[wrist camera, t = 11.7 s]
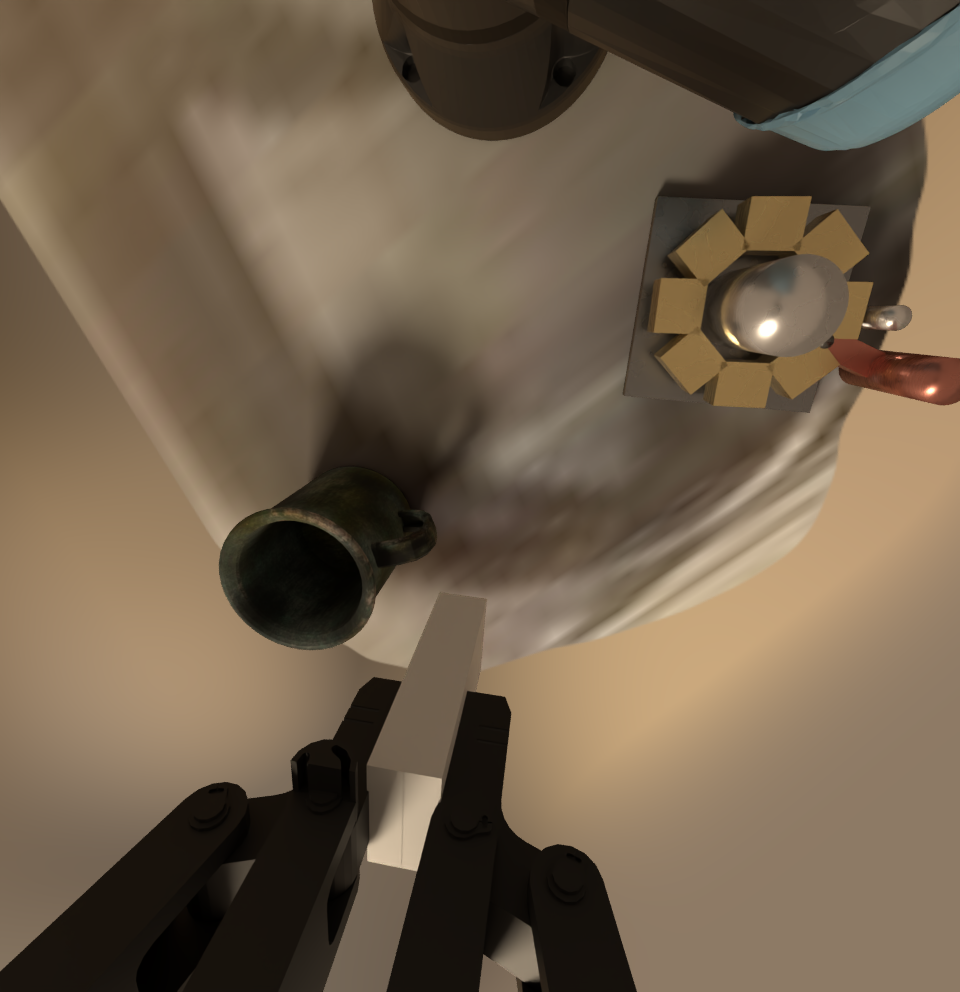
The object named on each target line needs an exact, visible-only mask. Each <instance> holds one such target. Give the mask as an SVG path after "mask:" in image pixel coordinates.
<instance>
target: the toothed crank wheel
mask: <svg viewBox="0 0 960 992" xmlns="http://www.w3.org/2000/svg"><path fill="white" fill-rule="evenodd" d="M811 198H812V196H752V197H750V198H748V199H747V200H745V201H744V202H742V203H740V204H739V205H737V211H736V217H735V222H734V223H733V222H732V221H731V219H730V218H729V217H728V215H727V214H726V213H725V211H724V210H723V209H721V210H719V211H718V212H716V213H715V214H713V215H712V216H710V217H709V218H708V219H707V220H706V221H705V222H704V223H702V224H701V225H700V226H699V227H698V228H697V229H696V230H695V231H694V232H693V233H692V234H690V235H689V236H688V237H687V238H686V239H685V240H684V241H683V242H682V243H681V244H680V245H678V246H677V247H676V248H675V249H674V250H673V251H672V252H671V253H670V254H669V255H667V256H668V257H669V258H670V260H671V261H672V262H673V264H674V265H675V266H676V267H677V269H678V270H679V271H680V272H681V274H682V275H683V276H684V277H685V279H684V278H660V279H657V280H655V281H654V284H653V292H652V299H651V307H650V314H649V321H648V329H647V332H652V333H677V335H676V336H675V337H674V338H673V339H672V340H670V341H669V342H668V343H667V344H666V345H664V346H663V347H662V348H661V349H660V350H659V351H657V352H656V353H655V354H654V356H655V357H656V359H657V360H658V361H659V362H660V363H661V365H662V366H663V367H664V368H665V370H666V371H667V372H668V373H669V374H670V376H671V377H672V378H673V379H674V380H675V382H676V383H677V384H678V385H679V386H680V388H681V389H682V390H684V391H685V392H687V393H689V394H690V395H691V394H692V393H694V392H695V391H696V390H698V389H699V388H700V387H701V386H703V385H704V384H705V383H706V385H705V391H704V397H703V400H705V401H706V402H708V403H710V404H711V405H713V406H733V407H753V408H765V406H766V401H767V397H768V392H769V388H770V386H771V388H772V389H773V390H774V391H775V393H776V394H778V395H781V396H784V397H787V398H789V399H794V398H795V397H796V396H798V395H799V394H801V393H802V392H803V391H805V390H806V389H807V388H809V387H810V386H811V385H813V384H814V383H816V382H817V381H818V380H820V379H821V378H822V377H824V376H825V375H827V374H828V373H829V372H831V371H832V370H833V369H835V368H836V367H837V366H838V367H839V375H840V377H841V379H842V380H843V381H844V382H846V383H848V384H851V385H855V386H860V387H864V388H868V389H873V390H877V391H881V392H886V393H890V394H894V395H898V396H903V397H907V398H911V399H915V400H920V401H924V402H928V403H932V404H937V405H949V404H953V403H956V402H958V401H960V359H959V358H949V357H940V356H931V355H921V354H911V353H902V352H893V351H883V350H877V349H875V348H873V347H871V346H869V345H867V344H865V343H863V342H861V341H859V340H857V339H858V337H859V334H860V330H861V326H862V323H863V319H864V315H865V312H866V308H867V304H868V301H869V297H870V293H871V289H872V286H873V282H847V284H848V290H849V301H848V307H847V311H846V314H845V316H844V319H843V321H842V323H841V324H840V326H839V327H838V329H837V330H836V332H835V333H834V334H833V335H832V336H831V337H830V338H829V339H828V340H827V341H826V342H825V343H823V344H822V345H821V346H819V347H818V348H816V349H814V350H812V351H810V352H808V353H805V354H802V355H799V356H793V357H778V356H772V355H767V354H763V355H762V356H760V357H759V358H758V359H756V360H739V359H723V357H722V356H721V355H720V354H719V352H718V351H717V350H716V349H715V347H714V346H713V345H712V344H711V342H710V341H709V340H708V339H707V337H706V336H705V335H704V334H703V332H702V331H701V330H700V329H701V323H702V317H703V311H704V305H705V299H706V293H707V287H708V284H709V283H710V282H711V281H712V280H713V279H714V278H715V277H717V276H718V275H719V274H720V273H721V272H722V271H724V270H725V269H726V268H727V267H728V266H729V265H731V264H732V263H733V262H734V261H735V260H736V259H737V258H739V257H740V256H741V255H767V256H778V257H779V259H782V258H786V257H790V256H794V255H799V254H813V255H818V256H822V257H824V258H827V259H829V260H830V261H832V262H833V263H834V264H835V265H837V266H838V267H839V269H840V270H841V271H842V273H843V274H844V273H845V272H847V271H848V270H849V269H850V268H852V267H853V266H854V265H855V264H857V263H858V262H859V261H861V260H862V259H863V258H864V257H866V256H867V255H868V254H869V252H868V251H867V249H866V248H865V247H864V245H863V244H862V242H861V241H860V240H859V238H858V237H857V235H856V234H855V233H854V231H853V230H852V228H851V227H850V226H849V224H848V223H847V221H846V220H845V219H844V217H843V216H842V214H841V213H840V211H839V210H838V209H836V210H833V211H831V212H828V213H825V214H823V215H820V216H818V217H816V218H815V219H813V220H812V221H811V222H810V223H809V224H808V225H806V220H807V216H808V211H809V207H810V202H811ZM805 225H806V226H805Z"/></svg>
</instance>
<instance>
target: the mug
mask: <svg viewBox="0 0 960 992" xmlns="http://www.w3.org/2000/svg"><path fill="white" fill-rule="evenodd" d="M413 532H414V533H413ZM436 540H437V532H436V527H435V524H434V522H433V520H432V517H431V515H430V514H429V513H427V512H425V511H422V510H411V509H410V507H409V504H408V502H407V500H406V498H405V497H404V495H403V494H402V492H401V491H400V490H399V489H398V487H397V486H395V485H394V484H393V483H392V482H391V481H390V480H388V479H387V478H386V477H384V476H383V475H381V474H379V473H377V472H375V471H372V470H369V469H366V468H360V467H340V468H336V469H332V470H329V471H327V472H325V473H323V474H322V475H320V476H319V477H317V478H316V479H314V480H313V481H311V482H310V483H308V484H307V485H305V486H304V487H302V488H301V489H299V490H298V491H296V492H295V493H293V494H292V495H290V496H289V497H288V498H286V499H285V500H283V501H282V502H280V503H279V504H277V505H276V506H274V507H273V508H271V509H266V510H262V511H259V512H256V513H254V514H252V515H250V516H248V517H246V518H245V519H243V520H242V521H241V522H239V523H238V524H237V525H236V526H235V527H234V528H233V529H232V531H231V532H230V533H229V535H228V537H227V538H226V540H225V542H224V544H223V547H222V550H221V553H220V560H219V575H220V579H221V584H222V587H223V590H224V592H225V595H226V597H227V599H228V601H229V603H230V604H231V606H232V607H233V609H234V610H235V612H236V613H237V614H238V615H239V617H241V618H242V620H243V621H244V622H245V623H246V624H247V625H249V626H250V627H251V628H252V629H253V630H255V631H256V632H257V633H259V634H260V635H262V636H264V637H265V638H267V639H269V640H271V641H274V642H275V643H278V644H281V645H284V646H287V647H291V648H296V649H303V650H321V649H326V648H331V647H334V646H337V645H340V644H342V643H344V642H346V641H347V640H349V639H351V638H352V637H354V636H355V635H356V634H357V633H358V632H359V631H361V630H362V628H363V627H364V626H365V624H366V623H367V622H368V620H369V618H370V616H371V614H372V611H373V608H374V604H375V598H376V596H377V595H378V593H379V591H380V590H381V588H382V587H383V585H384V584H385V582H386V581H387V579H388V578H389V576H390V574H391V573H392V571H393V570H394V568H395V567H396V565H401V564H405V563H409V562H413V561H416V560H418V559H420V558H422V557H423V556H425V555H427V554H428V553H429V552H430V551H431V549H432V548H433V547H434V546H435V544H436Z"/></svg>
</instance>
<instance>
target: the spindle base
mask: <svg viewBox="0 0 960 992" xmlns="http://www.w3.org/2000/svg"><path fill="white" fill-rule="evenodd" d="M744 201H745V200H725V199H704V198H683V197H662V196H658V197H657V198H656V199H655V204H654V210H653V216H652V222H651V228H650V234H649V240H648V246H647V252H646V258H645V264H644V270H643V276H642V282H641V287H640V293H639V299H638V305H637V311H636V317H635V323H634V329H633V335H632V341H631V347H630V353H629V359H628V365H627V371H626V377H625V383H624V389H623V395H624V396H631V397H642V398H653V399H664V400H675V401H686V402H697V403H708V402H706V401H705V400H703V397H704V391H705V385H706V383H705V384H704V385H703V386H701V387H700V388H699V389H698V390H696V391H695V392H694V393H692V394H691V395H690V394H689V393H687V392H685V391H684V390H682V389H681V388H680V386H679V385H678V384H677V383H676V382H675V380H674V379H673V378H672V377H671V376H670V374H669V373H668V372H667V371H666V370H665V368H664V367H663V366H662V365H661V363H660V362H659V361H658V360H657V359H656V357H655V356H654V354H655V353H656V352H657V351H659V350H660V349H661V348H662V347H663V346H664V345H666V344H667V343H668V342H669V341H670V340H672V339H673V338H674V337H675V336H676V335H677V333H652V332H647V329H648V321H649V314H650V307H651V299H652V292H653V284H654V281H655V280H657V279H660V278H684V279H685V277H684V276H683V275H682V274H681V272H680V271H679V270H678V269H677V267H676V266H675V265H674V264H673V262H672V261H671V260H670V258H669V257H668V256H667V255H669V254H670V253H671V252H672V251H673V250H674V249H675V248H676V247H677V246H678V245H680V244H681V243H682V242H683V241H684V240H685V239H686V238H687V237H688V236H689V235H690V234H692V233H693V232H694V231H695V230H696V229H697V228H698V227H699V226H700V225H701V224H702V223H704V222H705V221H706V220H707V219H708V218H709V217H710V216H712V215H713V214H715V213H716V212H718V211H719V210H721V209H723V210H724V211H725V213H726V214H727V215H728V217H729V218H730V219H731V221H732V222H733V223H734V222H735V217H736V211H737V205H739V204H740V203H742V202H744ZM836 209H838V210H839V211H840V213H841V214H842V216H843V217H844V219H845V220H846V221H847V223H848V224H849V226H850V227H851V228H852V230H853V231H854V233H855V234H856V235H857V237H858V238H859V240H860V241H861V239H862V236H863V232H864V229H865V225H866V222H867V219H868V215H869V212H870V209H871V206H850V205H829V204H810V207H809V211H808V216H807V220H806V225H808V224H809V223H810V222H811V221H812V220H813V219H815V218H816V217H818V216H820V215H823V214H825V213H828V212H831V211H833V210H836ZM806 225H805V226H806ZM852 269H853V267H852V268H850V269H849V270H848V271H847V272H845V273H844V274H843V273H842V271H841V270H840V269H839V267H838V266H837V265H835V264H834V263H833V262H832V261H830V260H829V259H827V258H824V257H822V256H818V255H813V254H799V255H794V256H790V257H786V258H782V259H779V257H778V256H767V255H741V256H740V257H739V258H737V259H736V260H735V261H734V262H733V263H732V264H731V265H729V266H728V267H727V268H726V269H725V270H724V271H722V272H721V273H720V274H719V275H718V276H717V277H715V278H714V279H713V280H712V281H711V282H710V283H709V284H708V287H707V293H706V299H705V305H704V311H703V317H702V323H701V329H700V330H701V331H702V332H703V334H704V335H705V336H706V337H707V339H708V340H709V341H710V342H711V344H712V345H713V346H714V347H715V349H716V350H717V351H718V352H719V354H720V355H721V356H722V357H723V359H739V360H756V359H758V358H759V357H760V356H762V355H763V354H767V355H772V356H778V357H793V356H799V355H802V354H805V353H808V352H810V351H812V350H814V349H816V348H818V347H819V346H821V345H822V344H823V343H825V342H826V341H827V340H828V339H829V338H830V337H831V336H832V335H833V334H834V333H835V332H836V330H837V329H838V327H839V326H840V324H841V323H842V321H843V319H844V316H845V314H846V311H847V307H848V301H849V290H848V284H847V282H849V279H850V276H851V272H852ZM911 318H912V311H911V309H910V308H909V307H907V306H904V305H893V306H867V308H866V312H865V315H864V319H863V323H862V326H861V329H869V330H894V331H897V330H901V329H903V328H905V327H906V326H907V325H908V324H909V322H910V321H911ZM818 383H819V380H818V381H817V382H816V383H814V384H813V385H811V386H810V387H809V388H807V389H806V390H805V391H803V392H802V393H801V394H799V395H798V396H796V397H795V398H794V399H789V398H787V397H784V396H781V395H778V394H776V393H775V391H774V390H773V389H772V388H771V386H770V388H769V392H768V397H767V401H766V406H765V408H763V409H774V410H785V411H796V412H807V413H810V409H811V406H812V403H813V399H814V396H815V393H816V389H817V386H818ZM708 404H710V403H708ZM752 408H753V407H752Z"/></svg>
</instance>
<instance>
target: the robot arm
mask: <svg viewBox="0 0 960 992" xmlns="http://www.w3.org/2000/svg"><path fill="white" fill-rule="evenodd" d="M372 3H373V10H374V15H375V20H376V24H377V28H378V32H379V35H380V38H381V41H382V44H383V47H384V49H385V52H386V54H387V57H388V59H389V61H390V63H391V65H392V67H393V69H394V71H395V72H396V74H397V76H398V77H399V79H400V80H401V82H402V83H403V85H404V86H405V88H406V89H407V91H408V92H409V94H410V95H411V97H412V98H413V99H414V101H415V102H416V103H417V104H418V105H419V106H420V108H421V109H422V110H423V111H424V112H425V113H426V114H427V115H429V116H430V117H431V118H432V119H433V120H435V121H436V122H437V123H439V124H440V125H442V126H443V127H445V128H447V129H449V130H451V131H453V132H455V133H457V134H460V135H462V136H465V137H469V138H473V139H479V140H488V141H497V140H507V139H512V138H517V137H520V136H524V135H526V134H529V133H532V132H534V131H536V130H538V129H540V128H542V127H544V126H545V125H547V124H549V123H550V122H552V121H553V120H555V119H556V118H557V117H559V116H560V115H561V114H562V113H563V112H565V111H566V110H567V109H568V108H569V107H570V106H571V105H572V104H573V103H574V102H575V101H576V100H577V99H578V98H579V96H580V95H581V94H582V93H583V92H584V90H585V89H586V88H587V86H588V85H589V84H590V82H591V81H592V79H593V78H594V76H595V74H596V73H597V71H598V69H599V67H600V66H601V64H602V62H603V60H604V58H605V56H606V53H607V51H608V52H610V53H612V54H614V55H616V56H618V57H620V58H623V59H625V60H627V61H629V62H631V63H633V64H635V65H637V66H639V67H641V68H643V69H645V70H647V71H649V72H651V73H654V74H656V75H658V76H660V77H662V78H664V79H666V80H668V81H670V82H672V83H674V84H676V85H678V86H680V87H682V88H685V89H687V90H689V91H691V92H693V93H695V94H697V95H699V96H701V97H703V98H705V99H707V100H709V101H711V102H713V103H716V104H718V105H720V106H722V107H724V108H726V109H728V110H730V111H732V112H734V118H735V120H736V121H737V122H738V123H740V124H741V125H742V126H744V127H746V128H748V129H753V130H754V129H758V130H762V131H767V130H771V131H773V132H775V133H778V134H780V135H782V136H785V137H787V138H790V139H792V140H794V141H797V142H799V143H802V144H804V145H806V146H809V147H811V148H814V149H817V150H823V151H831V150H848V149H851V148H860V147H864V146H867V145H870V144H873V143H875V142H878V141H880V140H882V139H885V138H887V137H889V136H891V135H894V134H896V133H898V132H900V131H902V130H903V129H905V128H907V127H909V126H911V125H912V124H914V123H916V122H917V121H919V120H921V119H922V118H924V117H926V116H927V115H929V114H930V113H932V112H933V111H935V110H936V109H938V108H940V107H941V106H942V105H944V104H945V103H947V102H948V101H949V100H951V99H952V98H953V97H954V96H956V95H958V94H959V93H960V0H372ZM486 601H487V599H484V598H476V597H469V596H462V595H455V594H448V593H441V592H440V593H439V596H438V598H437V600H436V603H435V605H434V608H433V610H432V612H431V615H430V617H429V619H428V622H427V624H426V626H425V629H424V631H423V633H422V636H421V638H420V640H419V643H418V645H417V648H416V650H415V652H414V655H413V657H412V659H411V662H410V664H409V666H408V669H407V671H406V674H405V676H404V678H403V681H402V682H401V681H395V680H389V679H382V678H375V677H374V678H372V679H371V680H370V681H369V682H368V683H366V684H365V685H364V686H363V687H362V688H360V689H359V691H358V693H357V695H356V697H355V698H354V700H353V702H352V704H351V708H349V710H348V712H347V714H346V715H345V717H344V721H342V723H341V725H340V727H339V729H338V731H337V733H336V734H335V736H334V738H333V740H325V739H324V740H320V741H317V742H313V743H310V744H309V745H307V746H306V747H304V748H302V749H301V750H299V751H298V752H297V754H296V755H295V756H294V757H293V758H292V760H291V770H292V783H293V790H291V791H289V792H286V793H283V794H279V795H273V796H265V797H257V798H249V799H247V796H246V792H245V791H244V790H243V789H242V788H241V787H240V786H239V785H237V784H232V783H228V782H223V783H214V784H211V785H208V786H206V787H203V788H201V789H198V790H197V791H196V792H194V793H193V794H191V795H190V796H189V797H187V798H186V799H185V800H184V801H183V802H181V803H180V804H179V805H178V806H177V807H176V808H175V809H174V810H173V811H172V812H171V813H170V814H169V815H167V816H166V817H165V818H164V819H163V820H162V821H161V822H160V823H159V824H158V825H157V826H156V827H155V828H154V829H153V830H151V831H150V832H149V833H148V834H147V835H146V836H145V837H144V838H143V839H142V840H141V841H140V842H139V843H138V844H136V845H135V846H134V847H133V848H132V849H131V850H130V851H129V852H128V853H127V854H126V855H125V856H124V857H122V858H121V859H120V861H118V862H117V863H116V864H115V865H114V866H113V867H112V868H111V869H110V870H109V871H107V872H106V873H105V874H104V875H103V876H102V877H101V878H100V879H99V880H98V881H97V882H96V883H95V884H94V885H93V886H91V887H90V888H89V889H88V890H87V891H86V892H85V893H84V894H83V895H82V896H81V897H80V898H79V899H77V900H76V901H75V902H74V903H73V904H72V905H71V906H70V907H69V908H68V909H67V910H66V911H65V912H63V914H62V915H60V916H59V917H58V918H57V919H56V920H55V921H54V922H53V923H52V924H51V925H50V926H49V927H47V928H46V929H45V930H44V931H43V932H42V933H41V934H40V935H39V936H38V937H37V938H36V939H35V940H33V941H32V942H31V943H30V944H29V945H28V946H27V947H26V948H25V949H24V950H23V951H22V952H21V953H20V954H18V956H16V957H15V958H14V959H13V960H12V961H11V962H10V963H9V964H8V965H7V966H6V967H5V968H3V969H2V970H1V971H0V992H323V990H324V987H325V984H326V981H327V978H328V975H329V972H330V969H331V967H332V964H333V961H334V958H335V955H336V952H337V949H338V946H339V943H340V941H341V938H342V935H343V932H344V929H345V926H346V923H347V920H348V917H349V914H350V911H351V909H352V906H353V903H354V900H355V897H356V894H357V891H358V886H359V879H360V874H359V873H360V872H359V868H360V865H361V862H362V859H363V857H364V854H365V851H366V848H368V849H367V850H368V851H367V852H368V853H367V855H368V861H370V862H375V863H380V864H384V865H389V866H394V867H399V868H404V869H409V870H414V871H417V874H416V878H415V882H414V886H413V890H412V894H411V897H410V901H409V905H408V909H407V913H406V918H405V921H404V925H403V929H402V933H401V937H400V941H399V945H398V949H397V952H396V956H395V960H394V964H393V968H392V973H391V976H390V981H389V984H388V988H387V992H479V985H480V977H481V969H482V960H483V954H484V955H486V956H487V957H488V958H490V959H491V960H493V961H494V962H496V963H497V964H499V965H500V966H502V967H503V968H505V969H506V970H508V971H509V972H510V973H512V974H513V975H515V976H516V979H517V987H518V992H637V991H636V987H635V984H634V981H633V978H632V974H631V971H630V968H629V964H628V961H627V958H626V954H625V951H624V948H623V944H622V941H621V938H620V935H619V931H618V928H617V924H616V921H615V918H614V915H613V911H612V908H611V905H610V901H609V898H608V895H607V892H606V888H605V885H604V881H603V879H602V877H601V875H600V872H599V870H598V869H597V866H596V865H595V864H594V863H593V861H592V860H591V859H590V858H589V857H588V856H587V855H586V854H585V853H583V852H581V851H579V850H578V849H576V848H574V847H572V846H566V845H559V844H557V845H553V846H550V847H546V848H545V849H543V850H542V851H541V850H539V849H537V848H536V847H534V846H532V845H530V844H529V843H527V842H525V841H524V840H522V839H521V838H520V837H518V836H517V835H516V834H515V833H514V832H513V831H512V830H511V829H510V828H509V826H508V824H507V822H506V821H505V819H504V816H503V812H502V809H501V798H502V789H503V780H504V772H505V763H506V754H507V745H508V737H509V728H510V720H511V711H510V709H509V706H508V703H507V701H506V698H505V697H502V696H496V695H490V694H484V693H477V692H476V689H477V684H478V679H479V675H480V670H481V659H482V647H483V636H484V624H485V613H486Z"/></svg>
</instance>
